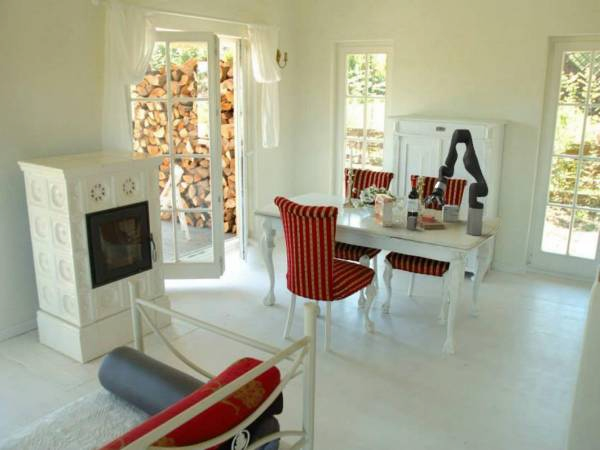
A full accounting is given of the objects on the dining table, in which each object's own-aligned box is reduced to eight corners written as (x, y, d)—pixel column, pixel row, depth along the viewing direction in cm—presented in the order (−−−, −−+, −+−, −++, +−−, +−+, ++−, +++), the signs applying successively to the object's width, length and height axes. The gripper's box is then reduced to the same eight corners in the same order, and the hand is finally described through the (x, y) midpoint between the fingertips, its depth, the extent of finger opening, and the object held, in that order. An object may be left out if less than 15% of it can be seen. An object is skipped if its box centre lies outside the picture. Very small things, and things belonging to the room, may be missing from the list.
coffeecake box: (373, 221, 394) (375, 193, 389) (383, 221, 396) (384, 193, 391) (381, 226, 380) (383, 198, 375) (391, 226, 382) (393, 197, 377)
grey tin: (416, 228, 377) (417, 217, 375) (413, 230, 373) (414, 218, 371) (409, 227, 380) (410, 215, 378) (406, 229, 376) (407, 217, 374)
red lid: (434, 220, 388) (434, 216, 387) (430, 222, 383) (430, 217, 382) (425, 219, 391) (425, 214, 391) (421, 220, 386) (421, 216, 385)
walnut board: (444, 228, 378) (444, 224, 378) (424, 229, 376) (424, 224, 375) (430, 220, 399) (431, 216, 399) (411, 221, 397) (412, 217, 396)
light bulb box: (456, 219, 405) (457, 204, 402) (458, 221, 398) (459, 206, 395) (441, 219, 406) (442, 204, 403) (442, 221, 399) (443, 206, 396)
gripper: (428, 185, 397) (420, 204, 390) (447, 188, 389) (440, 207, 383) (430, 192, 402) (423, 210, 396) (450, 194, 395) (442, 213, 388)
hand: (431, 209), depth 389 cm, fingers open, 8 cm apart
